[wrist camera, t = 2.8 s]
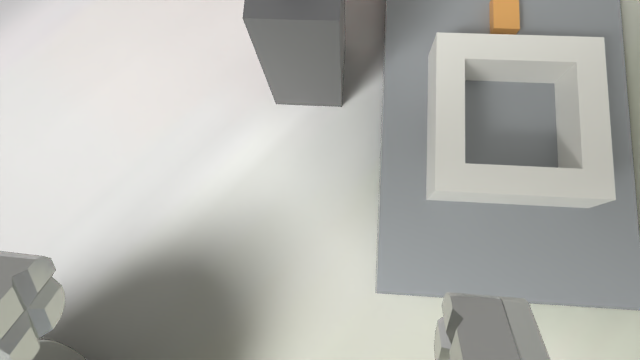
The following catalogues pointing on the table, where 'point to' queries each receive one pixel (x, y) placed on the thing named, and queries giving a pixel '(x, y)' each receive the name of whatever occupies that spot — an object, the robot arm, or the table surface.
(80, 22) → the table surface
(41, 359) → the dark grey cylinder
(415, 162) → the socket
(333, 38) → the plug
